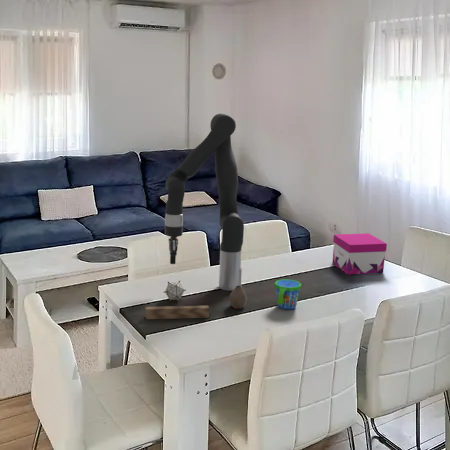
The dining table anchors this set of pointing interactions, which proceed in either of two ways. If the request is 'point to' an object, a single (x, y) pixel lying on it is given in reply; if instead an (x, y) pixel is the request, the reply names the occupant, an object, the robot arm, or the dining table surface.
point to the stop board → (177, 312)
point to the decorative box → (359, 253)
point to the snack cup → (287, 293)
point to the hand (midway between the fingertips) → (172, 263)
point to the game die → (174, 291)
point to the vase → (238, 298)
